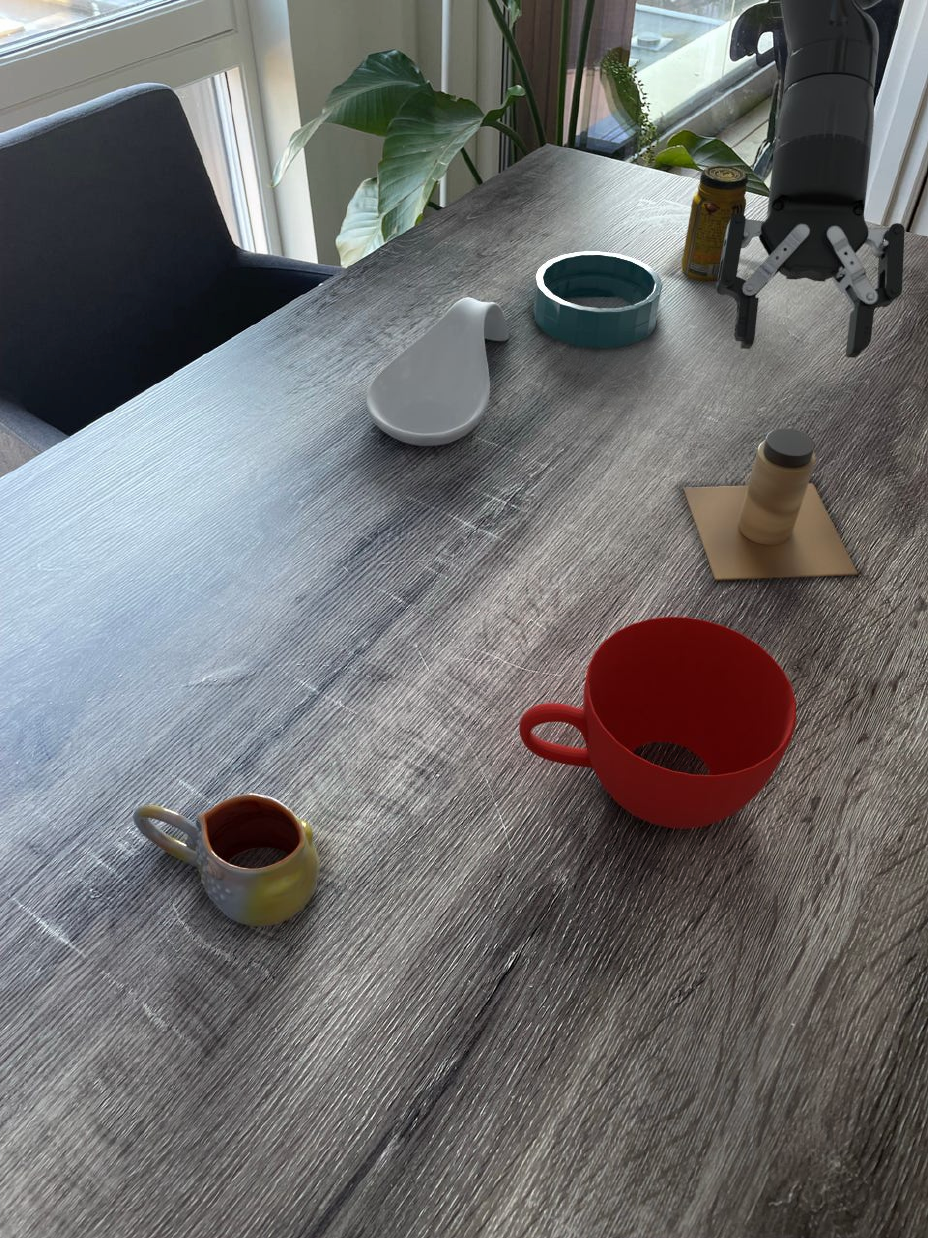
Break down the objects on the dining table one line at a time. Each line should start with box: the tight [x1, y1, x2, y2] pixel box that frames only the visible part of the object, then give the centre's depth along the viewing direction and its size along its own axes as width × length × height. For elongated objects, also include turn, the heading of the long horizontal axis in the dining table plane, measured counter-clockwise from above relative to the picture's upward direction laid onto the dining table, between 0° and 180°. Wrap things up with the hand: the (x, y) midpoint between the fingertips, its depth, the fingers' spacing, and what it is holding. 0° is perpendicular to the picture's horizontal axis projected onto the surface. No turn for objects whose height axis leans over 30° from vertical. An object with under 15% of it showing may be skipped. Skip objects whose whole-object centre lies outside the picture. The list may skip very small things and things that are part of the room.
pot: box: [532, 251, 663, 349], centre depth 110 cm, size 14×14×5 cm
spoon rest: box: [364, 296, 510, 447], centre depth 99 cm, size 24×12×7 cm, turn 160°
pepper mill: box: [738, 427, 817, 545], centre depth 83 cm, size 5×5×9 cm
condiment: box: [681, 164, 756, 283], centre depth 115 cm, size 7×8×12 cm
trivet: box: [682, 483, 859, 581], centre depth 86 cm, size 12×12×1 cm
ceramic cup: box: [518, 616, 797, 830], centre depth 65 cm, size 13×17×10 cm
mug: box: [132, 791, 321, 928], centre depth 61 cm, size 12×7×7 cm, turn 69°
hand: (800, 350), depth 82 cm, fingers open, 8 cm apart
